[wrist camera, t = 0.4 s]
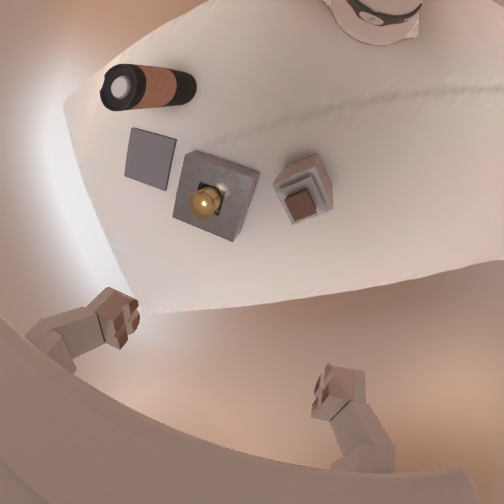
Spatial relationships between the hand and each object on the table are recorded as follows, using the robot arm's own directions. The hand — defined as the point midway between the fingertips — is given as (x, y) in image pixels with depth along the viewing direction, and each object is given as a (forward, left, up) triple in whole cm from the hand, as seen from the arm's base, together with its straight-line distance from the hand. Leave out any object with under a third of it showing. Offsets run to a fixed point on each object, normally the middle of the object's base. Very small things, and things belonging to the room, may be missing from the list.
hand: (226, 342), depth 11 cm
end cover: (+14, -14, -44) cm, 49 cm away
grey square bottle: (+4, +2, -46) cm, 46 cm away
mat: (+12, -32, -45) cm, 57 cm away
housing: (+14, -14, -45) cm, 50 cm away
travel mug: (-5, -28, -46) cm, 54 cm away
